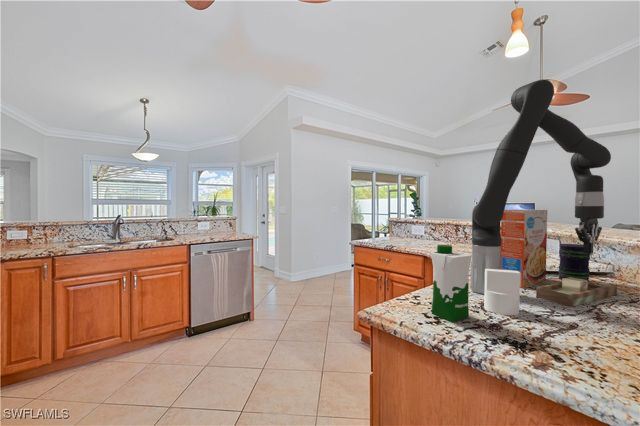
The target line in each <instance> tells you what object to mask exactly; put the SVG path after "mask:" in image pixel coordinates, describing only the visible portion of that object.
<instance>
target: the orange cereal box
mask: <svg viewBox="0 0 640 426" xmlns="http://www.w3.org/2000/svg"><path fill="white" fill-rule="evenodd" d="M500 233H501V270H512V271H518V272H520V289H523V290H524V289H526V288H529V287H531V286H533V285H536V284H538V282H539V283H541V282H543V280H544V281H546V280H547V279H546V278H547V277H546V276H547V248H548V245H547V243H548V240H547V238H548V236H547V235H548V209H504V213H503V217H502V220H501V222H500Z"/></svg>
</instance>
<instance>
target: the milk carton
mask: <svg viewBox="0 0 640 426" xmlns="http://www.w3.org/2000/svg"><path fill="white" fill-rule="evenodd" d="M436 247H437V249H436V252H435V251H434V252H431V253H430V255H431V262H432V267H433V268H432V272H433V277H432V279H433V280H432V301H431V302H432V304H431V314H432V315H433V316H436V317H439V318H441V319H444V320H446V321H447V322H451V323H455V322H459V321H462V320H466V319H470V313H469V312H470V311H469V309H470V308H469V307H470V306H469V286H470V285H469V284H470V283H469V282H470V281H469V280H470V279H469V277H470V268H471V263H472V254H465V253H463V252H454V251H453V245H448V244H438V245H436Z"/></svg>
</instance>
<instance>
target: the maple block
mask: <svg viewBox="0 0 640 426" xmlns="http://www.w3.org/2000/svg"><path fill="white" fill-rule="evenodd" d="M561 282H562V290H565V291H569V292H573V293H578V292H582V291H587V286H588V284H589V283H588V281H587V280H582V279H577V278H572V277H568V278H563V279H562V280H561Z"/></svg>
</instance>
